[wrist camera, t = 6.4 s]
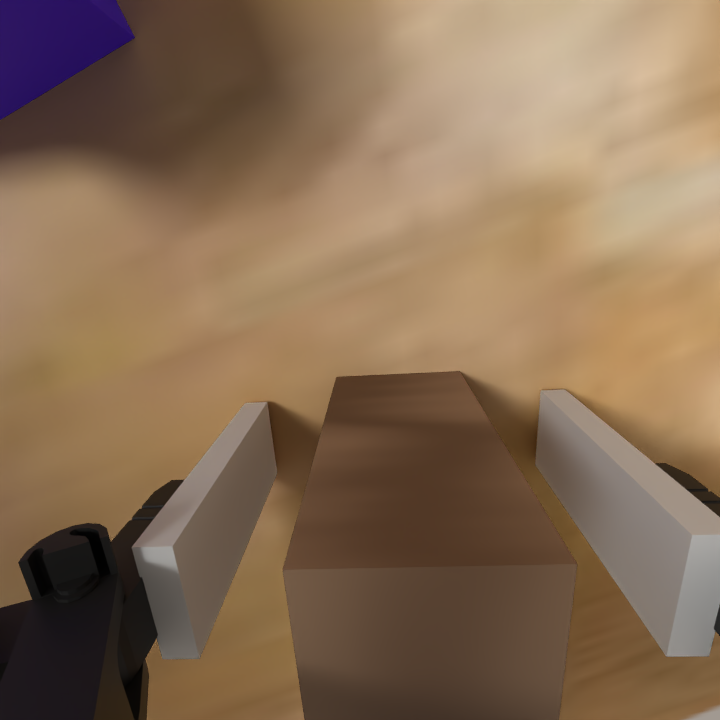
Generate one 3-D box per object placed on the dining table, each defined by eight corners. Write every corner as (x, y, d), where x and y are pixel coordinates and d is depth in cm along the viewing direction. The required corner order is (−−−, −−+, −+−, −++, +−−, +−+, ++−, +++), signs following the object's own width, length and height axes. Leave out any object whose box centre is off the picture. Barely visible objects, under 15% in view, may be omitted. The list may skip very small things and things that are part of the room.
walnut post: (345, 482, 14) (310, 760, 7) (336, 377, 13) (282, 569, 6) (458, 478, 14) (553, 761, 7) (459, 371, 13) (576, 563, 5)
